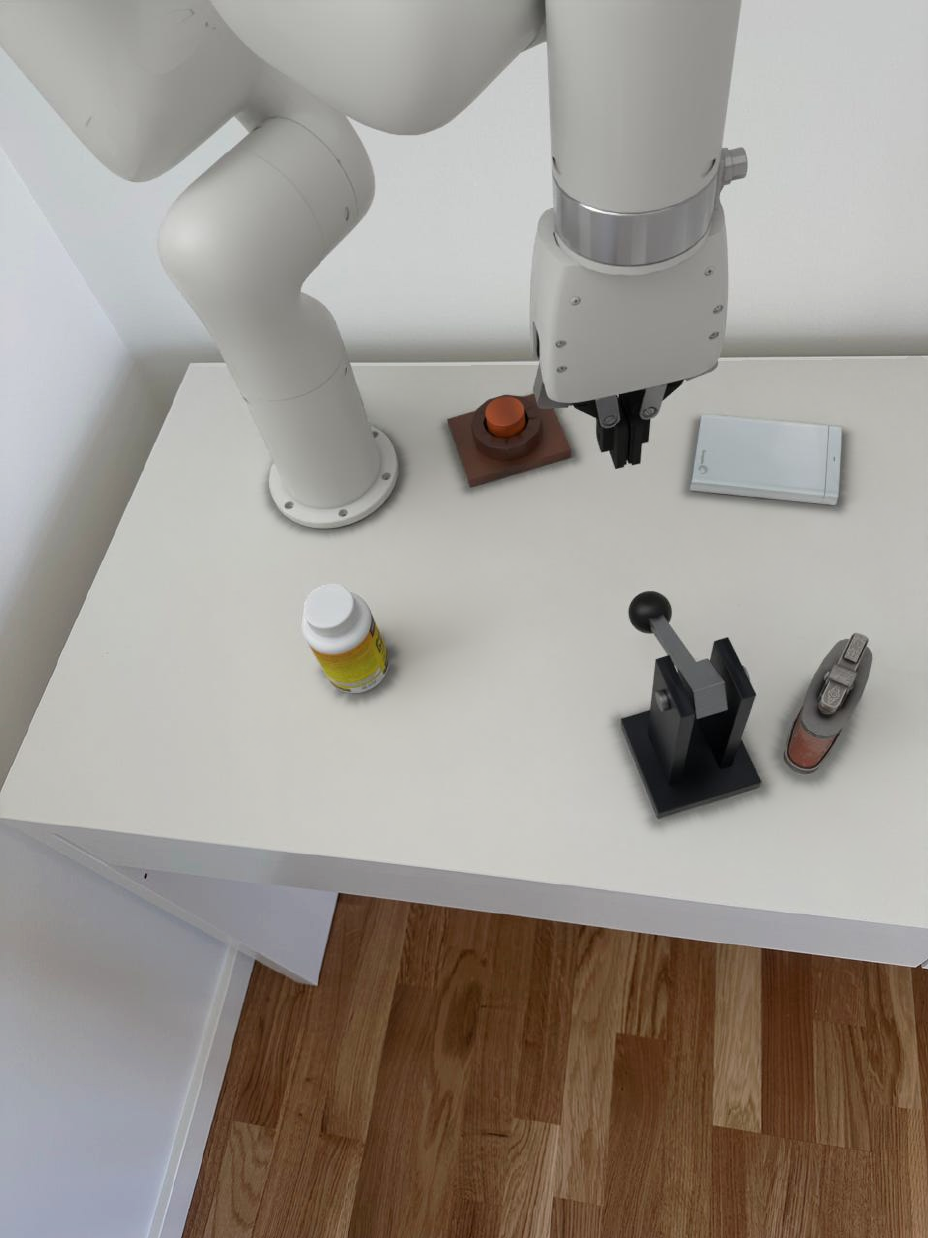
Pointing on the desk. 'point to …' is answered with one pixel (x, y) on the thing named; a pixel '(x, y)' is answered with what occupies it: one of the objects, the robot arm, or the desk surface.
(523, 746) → the desk surface
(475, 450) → the button block
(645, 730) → the bracket
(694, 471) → the hard drive
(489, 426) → the button
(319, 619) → the supplement bottle
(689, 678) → the lever
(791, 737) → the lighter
